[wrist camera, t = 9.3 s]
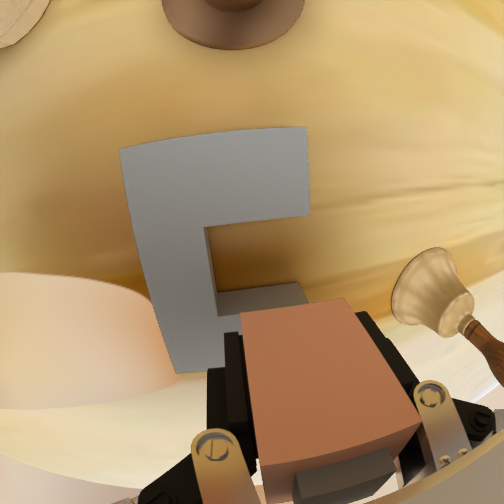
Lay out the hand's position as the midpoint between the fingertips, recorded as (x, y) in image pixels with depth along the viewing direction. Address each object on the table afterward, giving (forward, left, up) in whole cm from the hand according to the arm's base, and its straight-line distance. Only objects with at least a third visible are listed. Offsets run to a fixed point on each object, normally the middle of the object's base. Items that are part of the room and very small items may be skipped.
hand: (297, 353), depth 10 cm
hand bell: (+16, -6, -10) cm, 20 cm away
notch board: (-2, 0, -10) cm, 10 cm away
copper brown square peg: (0, 0, -1) cm, 1 cm away
